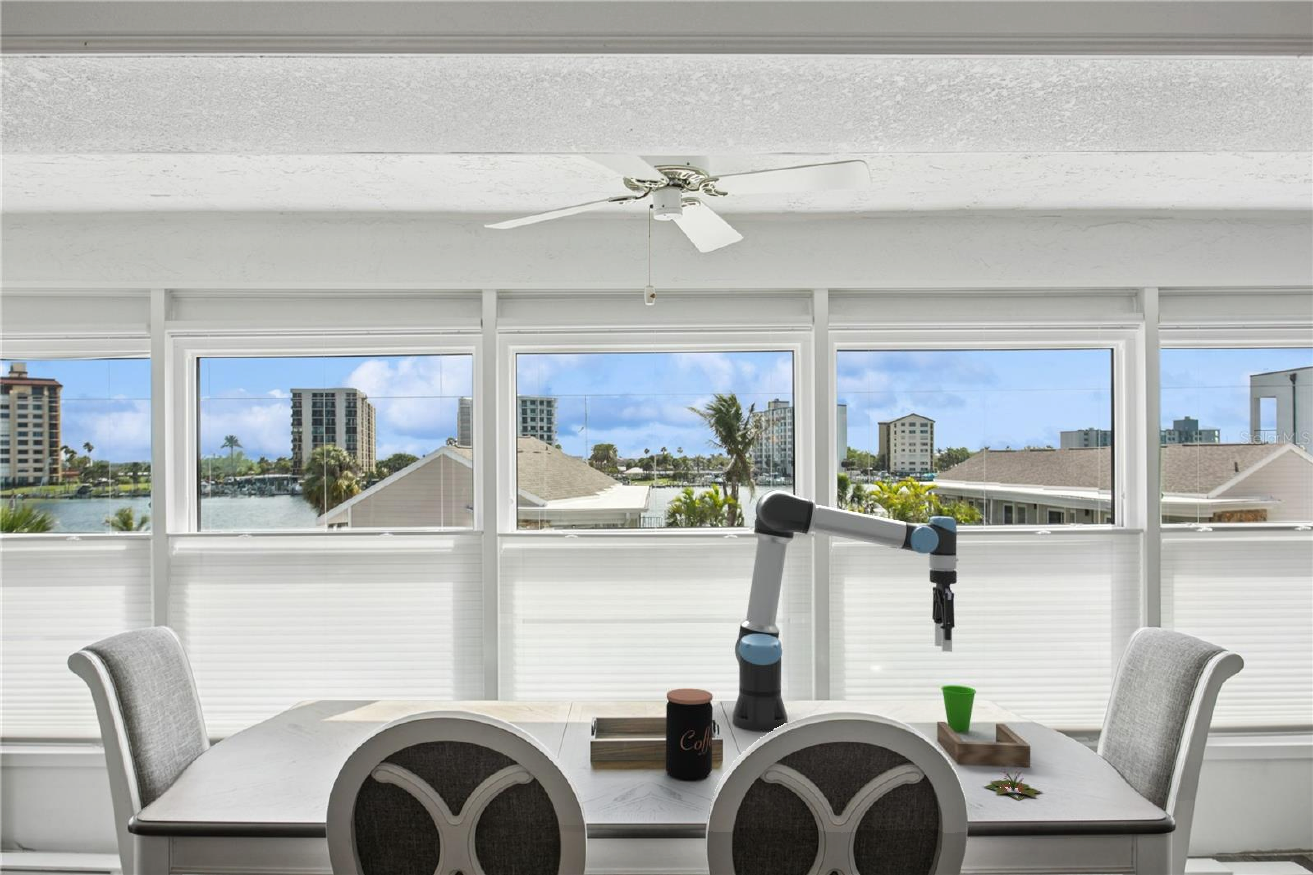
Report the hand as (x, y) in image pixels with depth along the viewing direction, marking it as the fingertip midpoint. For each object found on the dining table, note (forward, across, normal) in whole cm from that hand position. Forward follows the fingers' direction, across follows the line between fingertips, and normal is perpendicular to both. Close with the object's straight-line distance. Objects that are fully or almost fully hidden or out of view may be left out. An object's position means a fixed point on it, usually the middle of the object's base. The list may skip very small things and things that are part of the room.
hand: (943, 648), depth 243 cm
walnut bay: (+19, -35, 0) cm, 40 cm away
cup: (+19, -15, 0) cm, 24 cm away
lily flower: (+20, -59, +1) cm, 62 cm away
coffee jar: (+19, -56, +73) cm, 94 cm away
